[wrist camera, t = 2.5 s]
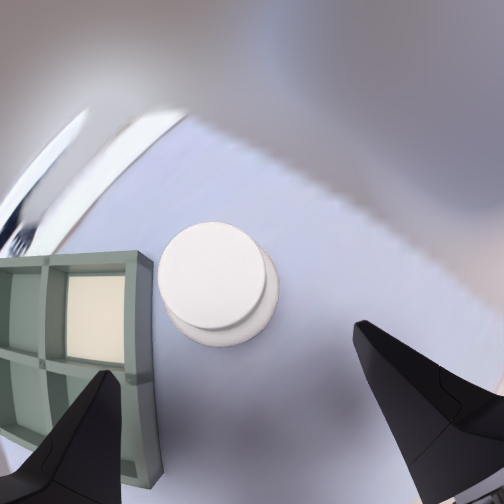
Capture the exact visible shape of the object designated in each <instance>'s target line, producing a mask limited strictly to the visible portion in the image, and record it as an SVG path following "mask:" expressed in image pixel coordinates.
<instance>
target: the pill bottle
mask: <svg viewBox="0 0 504 504" xmlns="http://www.w3.org/2000/svg"><path fill="white" fill-rule="evenodd" d="M158 285H159V290H160V293H161V296H162V298H163V302H164V306H165V309H166V311H167V313H168V315H169V317H170V319H171V321H172V322H173V324H174V325H175V326H176V327H177V328H178V329H179V330H180V331H181V332H182V333H183V334H184V335H185V336H187V337H188V338H190V339H192V340H193V341H195V342H197V343H200V344H203V345H207V346H211V347H229V346H235V345H238V344H241V343H244V342H246V341H248V340H250V339H252V338H254V337H255V336H256V335H258V334H259V333H260V332H261V331H262V330H263V329H264V328H265V326H266V325H267V324H268V322H269V321H270V319H271V318H272V316H273V314H274V311H275V309H276V306H277V303H278V298H279V278H278V274H277V270H276V268H275V265H274V263H273V261H272V259H271V258H270V256H269V255H268V254H267V252H266V251H265V250H264V249H263V248H262V247H261V246H260V245H259V244H258V243H256V242H255V241H254V240H253V239H252V238H251V237H250V236H249V235H248V234H247V233H245V232H244V231H242V230H241V229H239V228H237V227H235V226H232V225H230V224H226V223H221V222H205V223H200V224H196V225H193V226H191V227H189V228H187V229H185V230H184V231H182V232H180V233H179V234H178V235H177V236H176V237H175V238H173V240H172V241H171V242H170V243H169V244H168V246H167V247H166V249H165V251H164V253H163V254H162V257H161V260H160V263H159V268H158Z"/></svg>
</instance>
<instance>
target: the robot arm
mask: <svg viewBox="0 0 504 504" xmlns="http://www.w3.org/2000/svg"><path fill="white" fill-rule="evenodd" d="M353 343H354V346H355V349H356V352H357V355H358V357H359V360H360V363H361V366H362V368H363V371H364V374H365V377H366V379H367V381H368V384H369V386H370V388H371V390H372V392H373V394H374V396H375V398H376V400H377V402H378V404H379V406H380V408H381V410H382V412H383V415H384V417H385V419H386V421H387V423H388V425H389V427H390V429H391V432H392V434H393V436H394V438H395V440H396V442H397V445H398V447H399V449H400V451H401V453H402V456H403V458H404V460H405V462H406V465H407V467H408V470H409V472H410V474H411V477H412V479H413V481H414V484H415V486H416V488H417V491H418V493H419V496H420V498H421V501H422V503H423V504H439V503H441V502H443V501H446V500H448V499H450V498H452V497H454V499H455V502H453V504H504V396H500V395H496V394H494V393H492V392H489V391H487V390H485V389H483V388H481V387H479V386H476V385H474V384H472V383H470V382H468V381H466V380H464V379H462V378H460V377H458V376H457V375H455V374H453V373H451V372H450V371H448V370H446V369H445V368H443V367H441V366H439V365H438V364H436V363H435V362H433V361H432V360H430V359H428V358H427V357H425V356H424V355H422V354H420V353H419V352H417V351H416V350H414V349H412V348H411V347H409V346H407V345H406V344H404V343H403V342H401V341H399V340H398V339H396V338H395V337H393V336H391V335H390V334H388V333H386V332H385V331H383V330H382V329H380V328H378V327H377V326H375V325H374V324H372V323H370V322H369V321H367V320H362V321H359V322H356V323H355V324H354V331H353ZM121 433H122V408H121V385H120V383H119V381H118V380H117V378H116V377H115V376H114V374H113V373H112V372H111V371H110V370H108V369H106V370H99V371H98V372H97V374H96V375H95V376H94V377H93V378H92V380H91V381H90V382H89V383H88V385H87V386H86V387H85V388H84V389H83V391H82V392H81V393H80V394H79V396H78V397H77V398H76V399H75V401H74V402H73V403H72V404H71V406H70V407H69V408H68V409H67V411H66V412H65V413H64V414H63V416H62V417H61V418H60V420H59V421H58V422H57V423H56V425H55V426H54V427H53V429H52V430H51V432H49V434H48V435H47V436H46V438H45V439H44V440H43V441H42V443H41V444H40V445H39V446H38V447H37V449H36V450H35V451H34V452H33V453H32V454H31V455H30V457H29V458H28V459H27V460H26V461H25V462H24V463H23V464H22V465H21V466H20V468H19V469H18V470H17V471H15V472H14V473H12V474H10V475H7V476H2V477H0V504H121Z"/></svg>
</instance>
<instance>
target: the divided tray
mask: <svg viewBox="0 0 504 504" xmlns="http://www.w3.org/2000/svg"><path fill="white" fill-rule="evenodd" d="M152 282H153V262H152V261H151V260H150V259H148V258H147V257H146V256H145V255H143V254H142V253H141V252H139V251H138V250H134V251H116V252H98V253H80V254H63V255H47V256H30V257H14V258H0V435H2V436H4V437H6V438H7V439H9V440H11V441H13V442H15V443H17V444H18V445H20V446H22V447H24V448H26V449H28V450H30V451H33V452H34V451H35V450H36V449H37V447H38V446H39V445H40V444H41V443H42V441H43V440H44V439H45V438H46V436H47V435H48V434H49V432H51V430H52V429H53V427H54V426H55V425H56V423H57V422H58V421H59V420H60V418H61V417H62V416H63V414H64V413H65V412H66V411H67V409H68V408H69V407H70V406H71V404H72V403H73V402H74V401H75V399H76V398H77V397H78V396H79V394H80V393H81V392H82V391H83V389H84V388H85V387H86V386H87V385H88V383H89V382H90V381H91V380H92V378H93V377H94V376H95V375H96V374H97V372H98V371H99V370H106V369H108V370H110V371H111V372H112V373H113V374H114V376H115V377H116V378H117V380H118V381H119V383H120V385H121V408H122V433H121V483H122V484H126V485H131V486H135V487H140V488H145V489H150V490H151V489H152V487H153V486H154V485H155V483H156V482H157V481H158V479H159V478H160V477H161V476H162V474H163V473H164V472H163V466H162V459H161V452H160V444H159V436H158V427H157V417H156V406H155V393H154V377H153V354H152Z"/></svg>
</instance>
